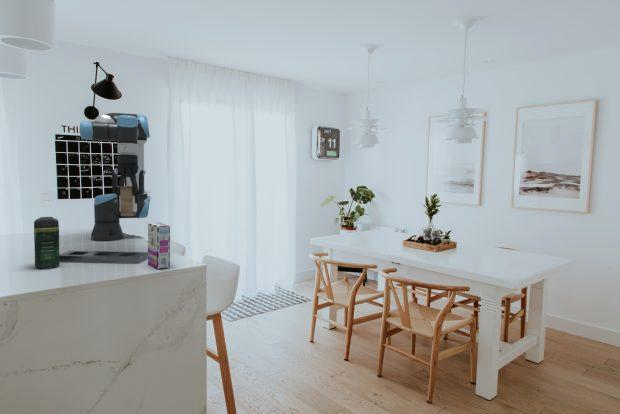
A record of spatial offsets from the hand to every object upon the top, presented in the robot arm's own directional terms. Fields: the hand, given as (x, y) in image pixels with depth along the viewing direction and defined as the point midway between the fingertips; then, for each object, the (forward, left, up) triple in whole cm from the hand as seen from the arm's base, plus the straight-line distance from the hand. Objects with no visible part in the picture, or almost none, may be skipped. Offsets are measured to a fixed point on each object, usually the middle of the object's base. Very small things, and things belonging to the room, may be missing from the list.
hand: (128, 211), depth 167 cm
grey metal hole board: (+4, -8, -20) cm, 22 cm away
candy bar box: (+12, +17, -20) cm, 29 cm away
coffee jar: (+16, -23, -20) cm, 35 cm away
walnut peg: (0, 0, -2) cm, 2 cm away
